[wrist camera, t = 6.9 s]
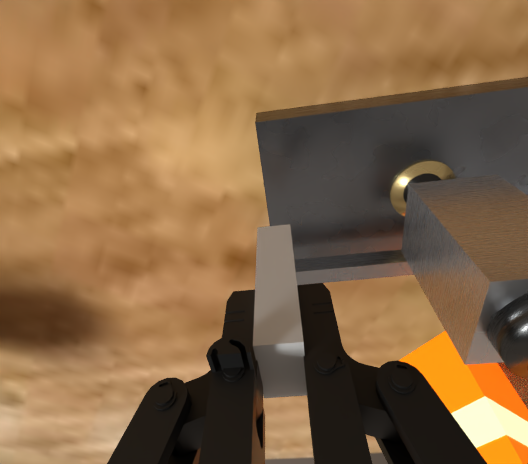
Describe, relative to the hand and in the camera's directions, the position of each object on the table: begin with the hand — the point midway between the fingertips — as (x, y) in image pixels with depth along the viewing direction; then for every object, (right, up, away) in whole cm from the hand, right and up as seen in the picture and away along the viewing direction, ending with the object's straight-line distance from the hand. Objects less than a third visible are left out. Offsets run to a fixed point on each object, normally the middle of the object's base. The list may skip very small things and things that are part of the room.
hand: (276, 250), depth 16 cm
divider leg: (+9, +3, +3) cm, 10 cm away
